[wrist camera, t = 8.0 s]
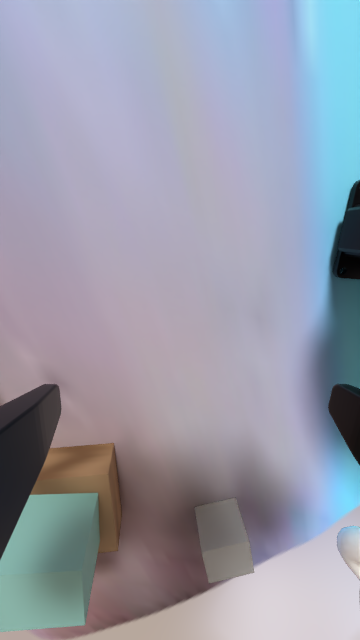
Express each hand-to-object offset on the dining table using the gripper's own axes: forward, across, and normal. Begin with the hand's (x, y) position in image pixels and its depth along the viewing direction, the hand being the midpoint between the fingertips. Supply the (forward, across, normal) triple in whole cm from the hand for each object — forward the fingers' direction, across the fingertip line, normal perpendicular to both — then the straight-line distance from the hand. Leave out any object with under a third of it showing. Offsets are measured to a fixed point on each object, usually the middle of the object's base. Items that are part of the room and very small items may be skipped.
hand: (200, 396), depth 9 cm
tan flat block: (+12, +9, +16) cm, 22 cm away
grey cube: (+12, -5, +21) cm, 25 cm away
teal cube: (+8, +8, +16) cm, 20 cm away
